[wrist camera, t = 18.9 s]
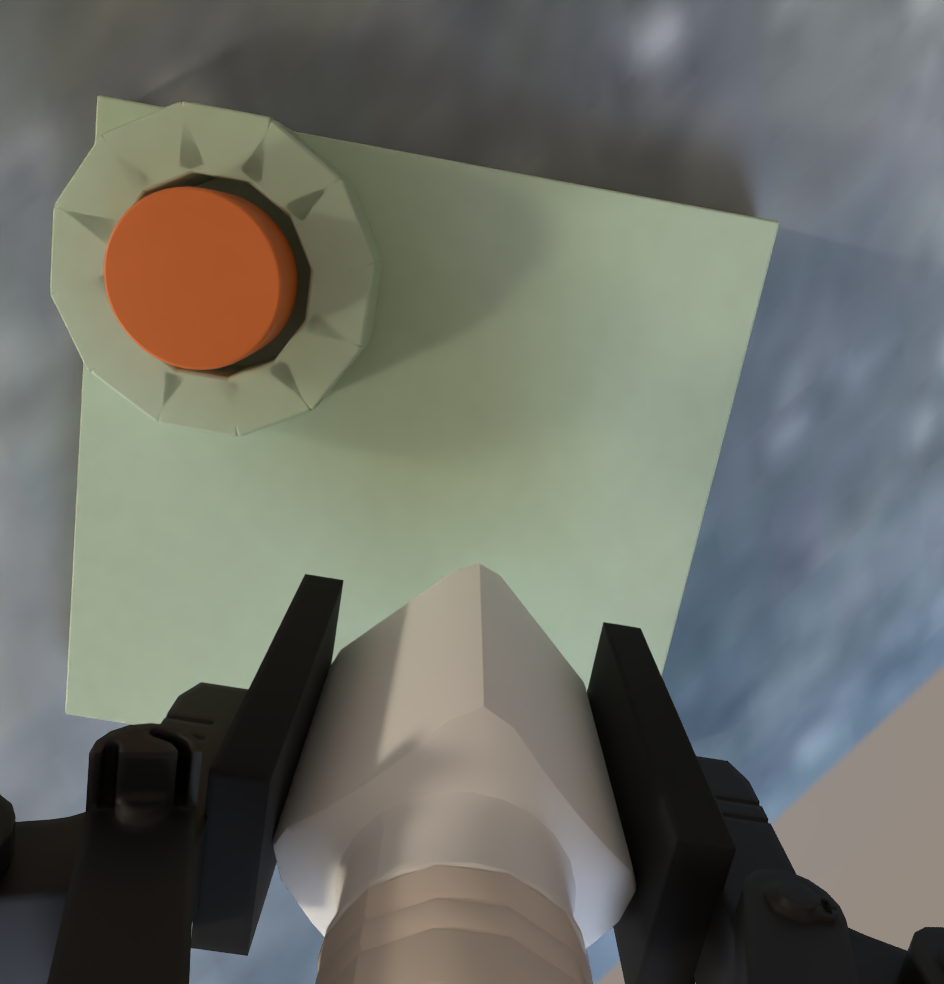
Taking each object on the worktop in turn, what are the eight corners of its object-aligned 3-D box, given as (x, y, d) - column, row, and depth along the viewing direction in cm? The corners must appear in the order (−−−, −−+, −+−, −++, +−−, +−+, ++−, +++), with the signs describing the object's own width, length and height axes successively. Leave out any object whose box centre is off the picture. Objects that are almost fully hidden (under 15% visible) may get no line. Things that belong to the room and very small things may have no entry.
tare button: (288, 371, 18) (271, 383, 16) (128, 344, 18) (97, 354, 16) (307, 207, 17) (291, 204, 15) (140, 176, 17) (107, 171, 15)
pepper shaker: (441, 791, 19) (413, 1321, 9) (321, 652, 18) (163, 1086, 9) (597, 689, 18) (729, 1151, 9) (481, 540, 17) (494, 880, 8)
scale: (620, 767, 23) (642, 842, 20) (86, 686, 23) (30, 751, 20) (760, 220, 19) (810, 217, 17) (121, 101, 19) (57, 76, 16)
